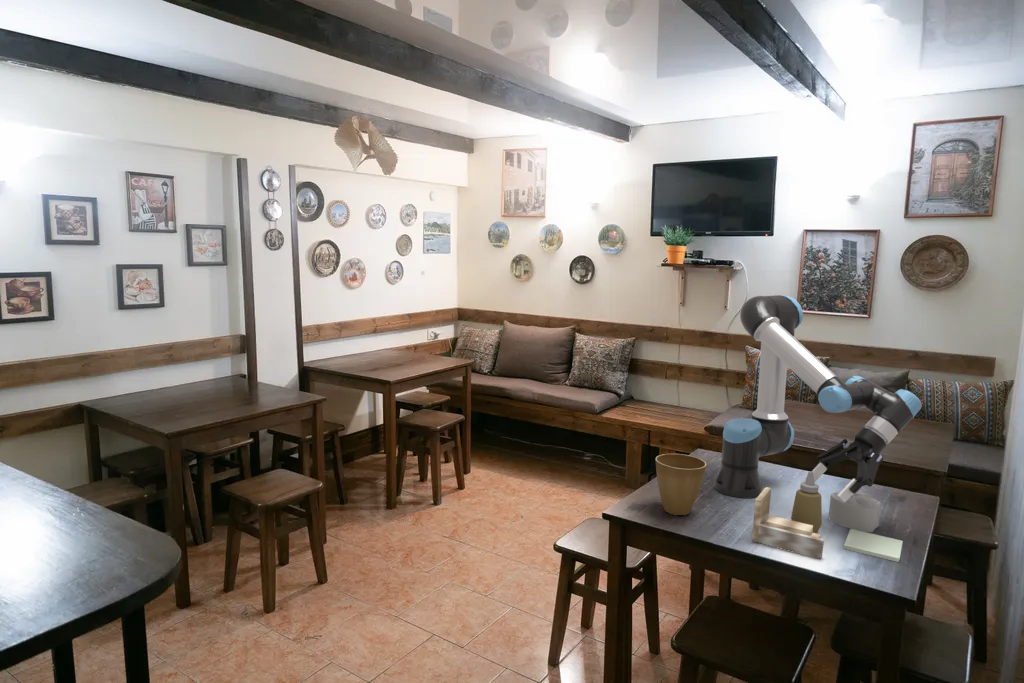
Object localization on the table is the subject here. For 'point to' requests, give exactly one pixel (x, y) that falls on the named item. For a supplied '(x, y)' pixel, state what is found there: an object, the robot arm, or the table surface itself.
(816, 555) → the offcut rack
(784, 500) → the table surface
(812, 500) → the squeeze bottle
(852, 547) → the sage mat
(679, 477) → the plant pot
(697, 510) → the table surface
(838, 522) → the lumpy-topped squat cylinder
